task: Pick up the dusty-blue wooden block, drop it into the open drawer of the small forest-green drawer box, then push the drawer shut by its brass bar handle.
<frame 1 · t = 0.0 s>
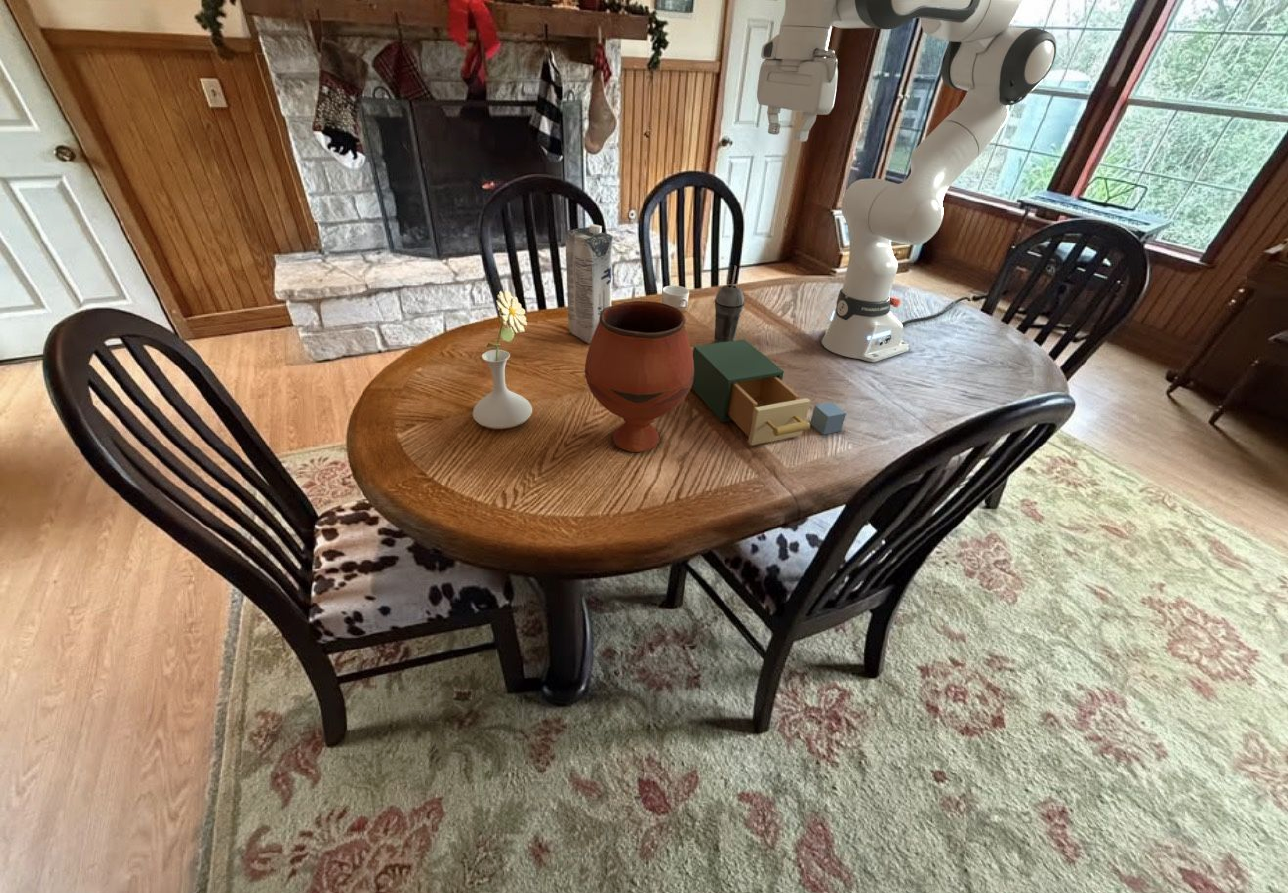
hand: (786, 137, 105), 48 cm above the table, tool pointing down, fingers open, 8 cm apart
drawer: (765, 409, 107), point 5 cm above the table, slide at 9.0 cm
block: (825, 427, 111), on the table
beverage cup: (723, 346, 140), on the table
juice carton: (589, 336, 142), on the table
teacup: (676, 310, 158), on the table
goblet: (636, 439, 105), on the table
flower in vase: (506, 417, 109), on the table
cabinet: (730, 398, 119), on the table
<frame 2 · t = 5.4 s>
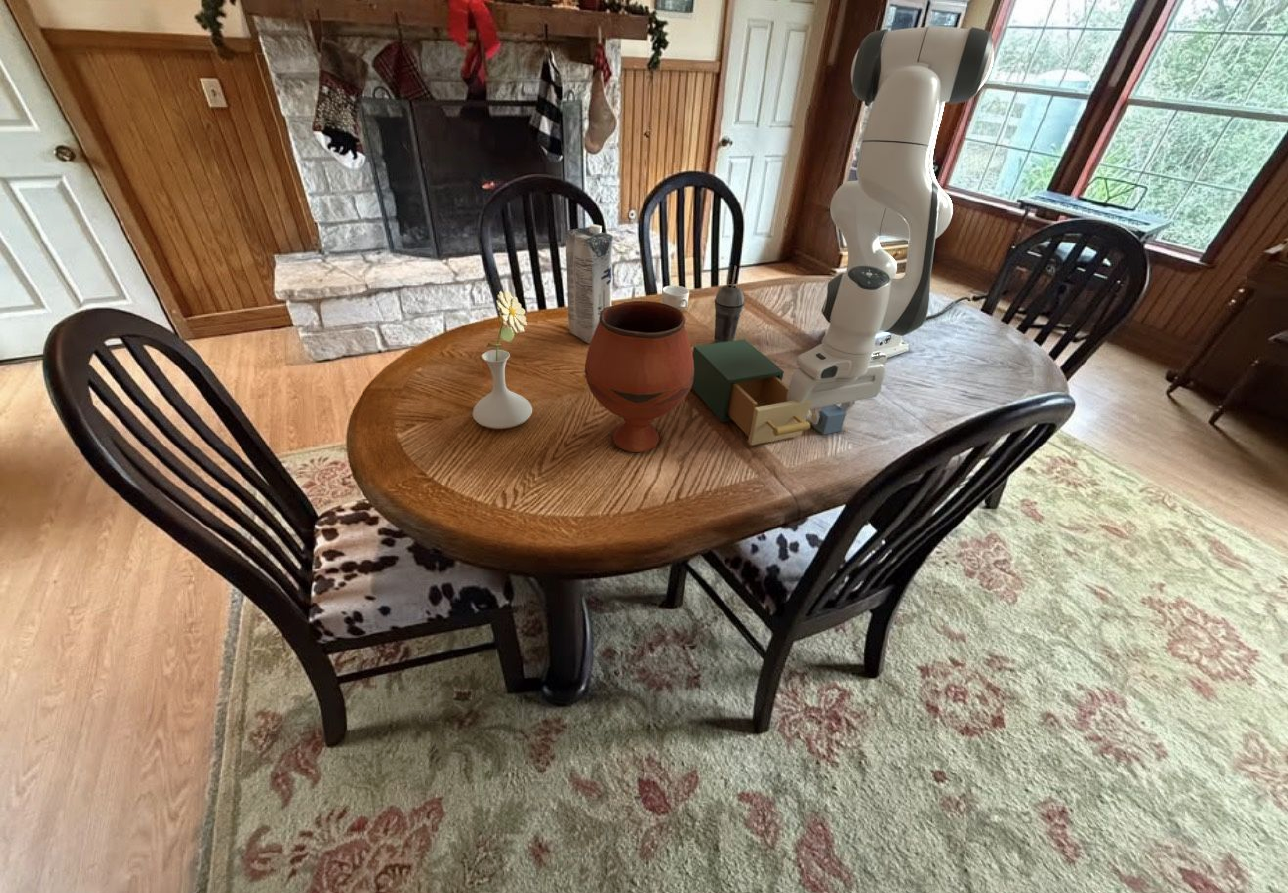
hand: (827, 420, 110), 2 cm above the table, tool pointing down, fingers closed on block, 4 cm apart
block: (825, 427, 111), on the table, touching gripper
everything else where it was.
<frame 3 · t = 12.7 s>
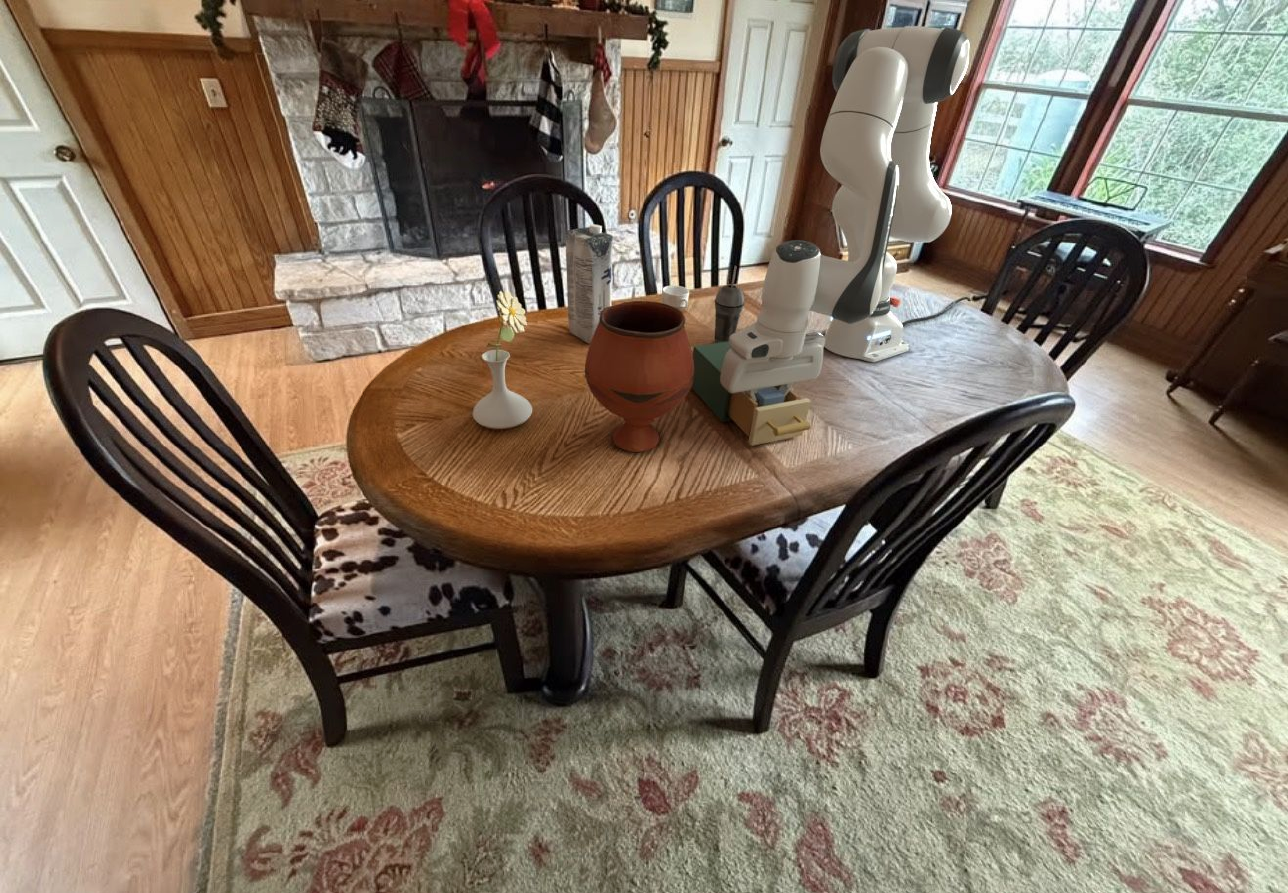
hand: (765, 403, 106), 6 cm above the table, tool pointing down, fingers closed on block, 4 cm apart
block: (764, 411, 107), point 4 cm above the table, touching gripper
everything else where it was.
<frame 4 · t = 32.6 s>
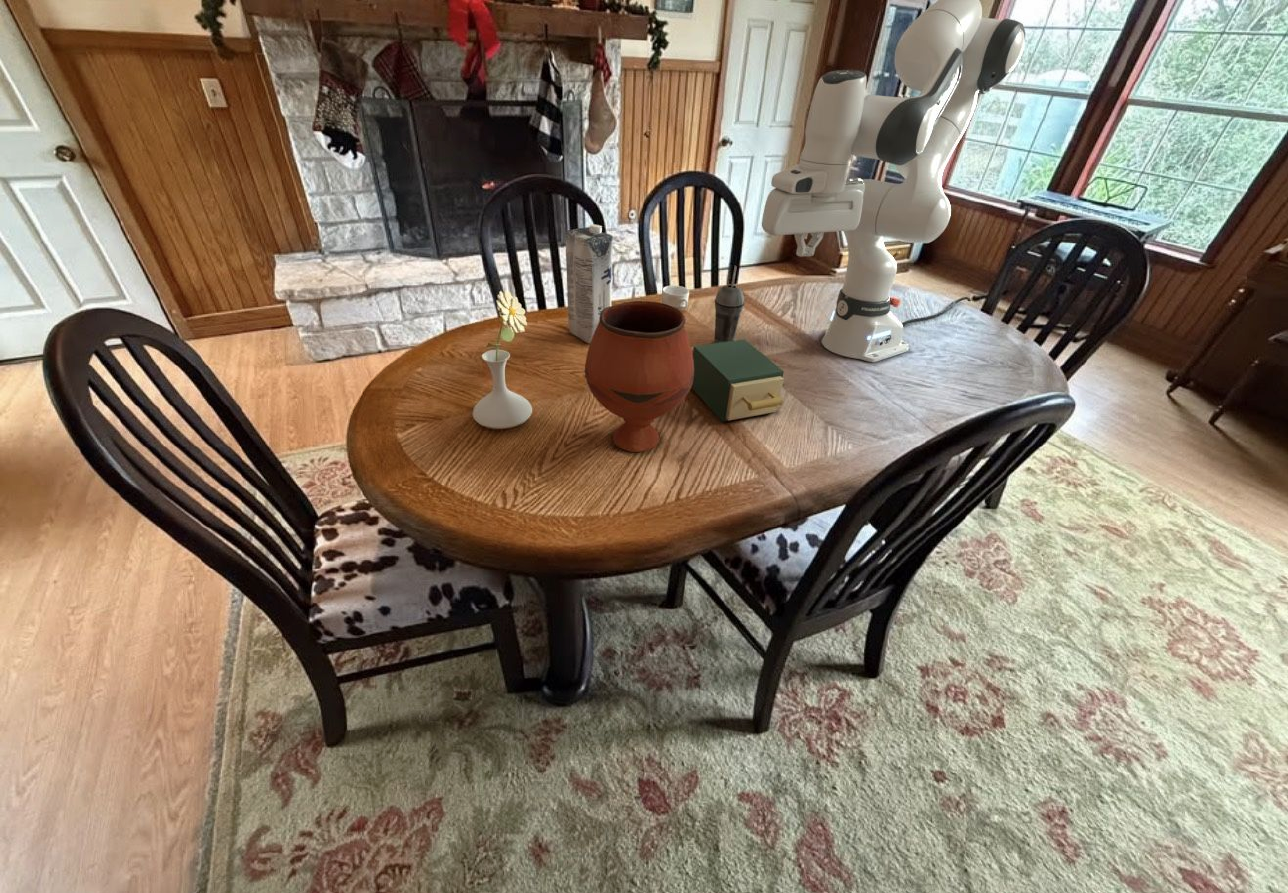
hand: (804, 255, 107), 29 cm above the table, tool pointing down, fingers closed
drawer: (742, 387, 113), point 5 cm above the table, slide at 0.0 cm, touching block, cabinet
block: (739, 396, 116), point 2 cm above the table, touching drawer
everything else where it was.
at the end: drawer slide at 0.0 cm; block inside the target area in the cabinet (3.0 cm from its centre), point 2.0 cm above the cabinet's base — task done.
